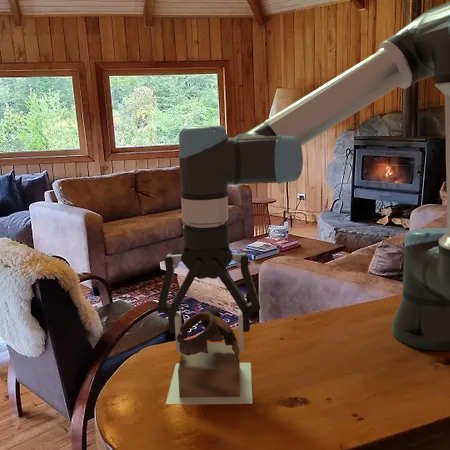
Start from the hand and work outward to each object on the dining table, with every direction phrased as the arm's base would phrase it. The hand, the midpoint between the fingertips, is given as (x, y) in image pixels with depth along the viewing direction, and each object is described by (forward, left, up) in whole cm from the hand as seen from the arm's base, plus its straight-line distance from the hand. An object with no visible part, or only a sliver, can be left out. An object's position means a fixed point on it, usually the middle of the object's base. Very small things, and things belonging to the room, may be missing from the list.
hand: (210, 349), depth 90 cm
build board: (0, 0, -8) cm, 8 cm away
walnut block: (0, 0, -6) cm, 6 cm away
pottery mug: (0, +1, 0) cm, 1 cm away
